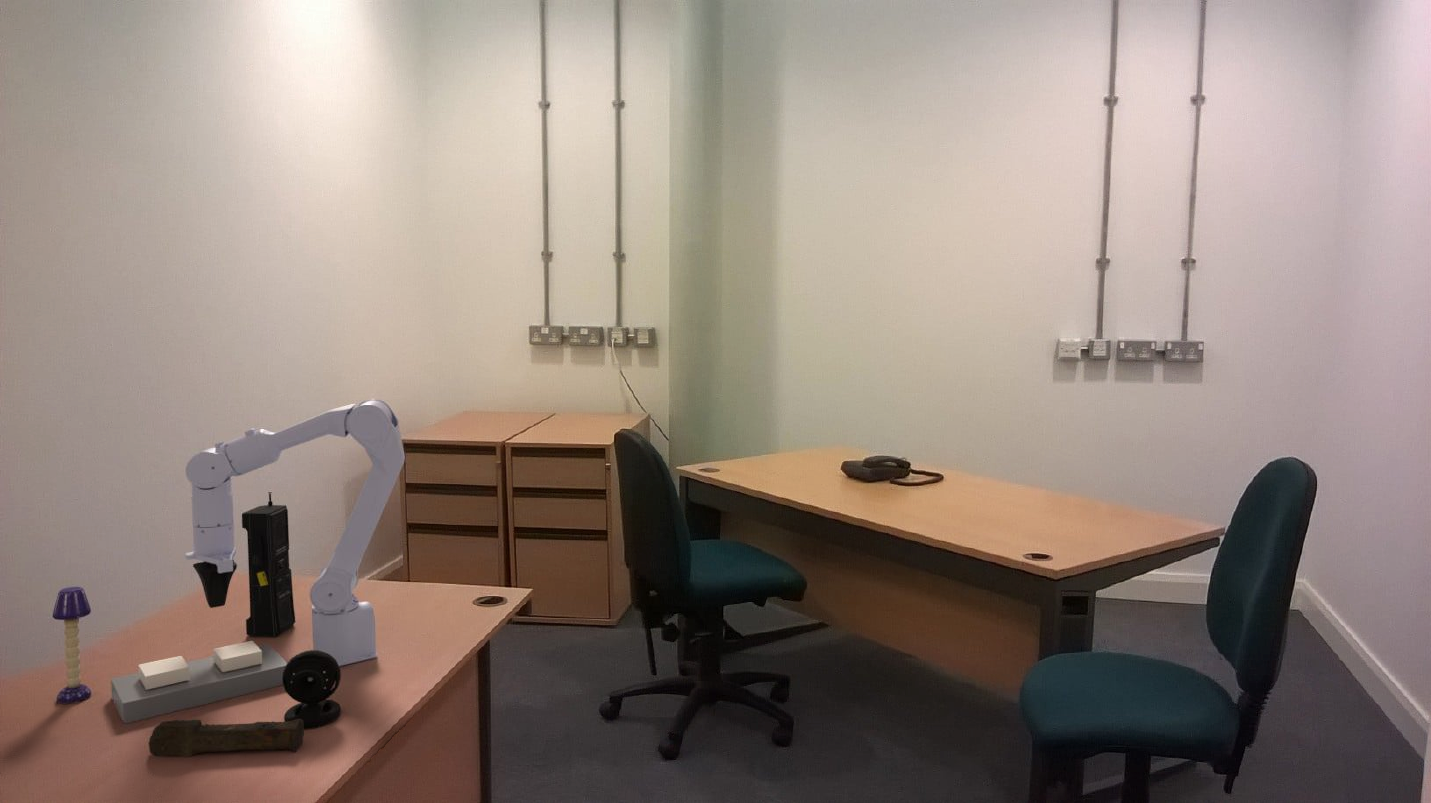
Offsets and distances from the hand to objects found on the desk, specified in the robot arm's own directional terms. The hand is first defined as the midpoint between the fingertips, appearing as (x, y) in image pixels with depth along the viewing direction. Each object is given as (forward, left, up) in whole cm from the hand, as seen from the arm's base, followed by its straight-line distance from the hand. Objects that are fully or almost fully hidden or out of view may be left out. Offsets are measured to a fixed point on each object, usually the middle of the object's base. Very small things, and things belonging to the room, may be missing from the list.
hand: (216, 605), depth 145 cm
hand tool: (+6, +31, -11) cm, 34 cm away
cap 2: (-1, +8, -10) cm, 13 cm away
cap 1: (+9, +8, -10) cm, 16 cm away
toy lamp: (+19, -1, -11) cm, 22 cm away
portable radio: (-11, -12, -11) cm, 19 cm away
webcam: (-6, +28, -11) cm, 31 cm away
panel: (+4, +8, -10) cm, 14 cm away
